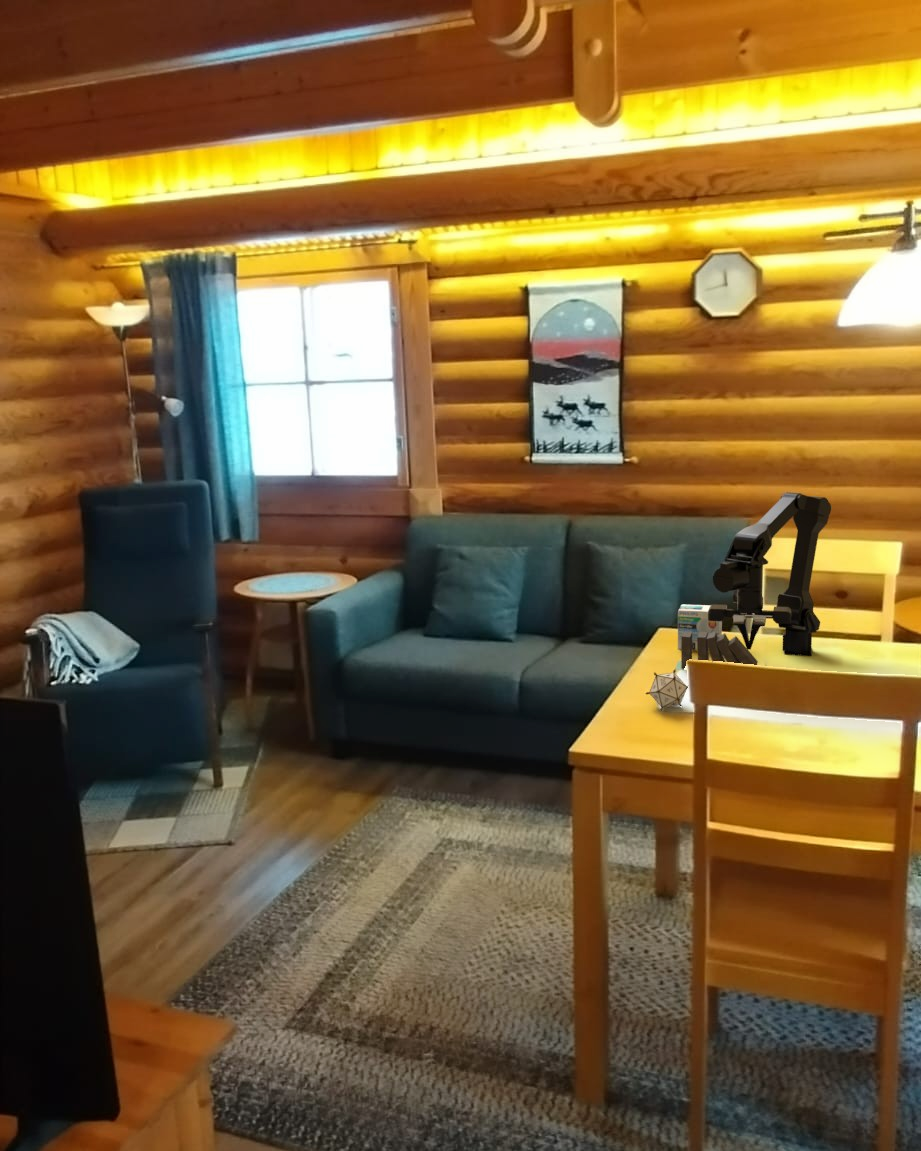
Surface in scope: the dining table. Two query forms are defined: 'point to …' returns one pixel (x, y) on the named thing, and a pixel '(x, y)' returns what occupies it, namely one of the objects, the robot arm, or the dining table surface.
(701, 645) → the domino
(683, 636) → the domino
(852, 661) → the dining table surface
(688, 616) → the light bulb box
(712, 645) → the domino
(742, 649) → the domino
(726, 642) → the domino
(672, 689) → the game die
